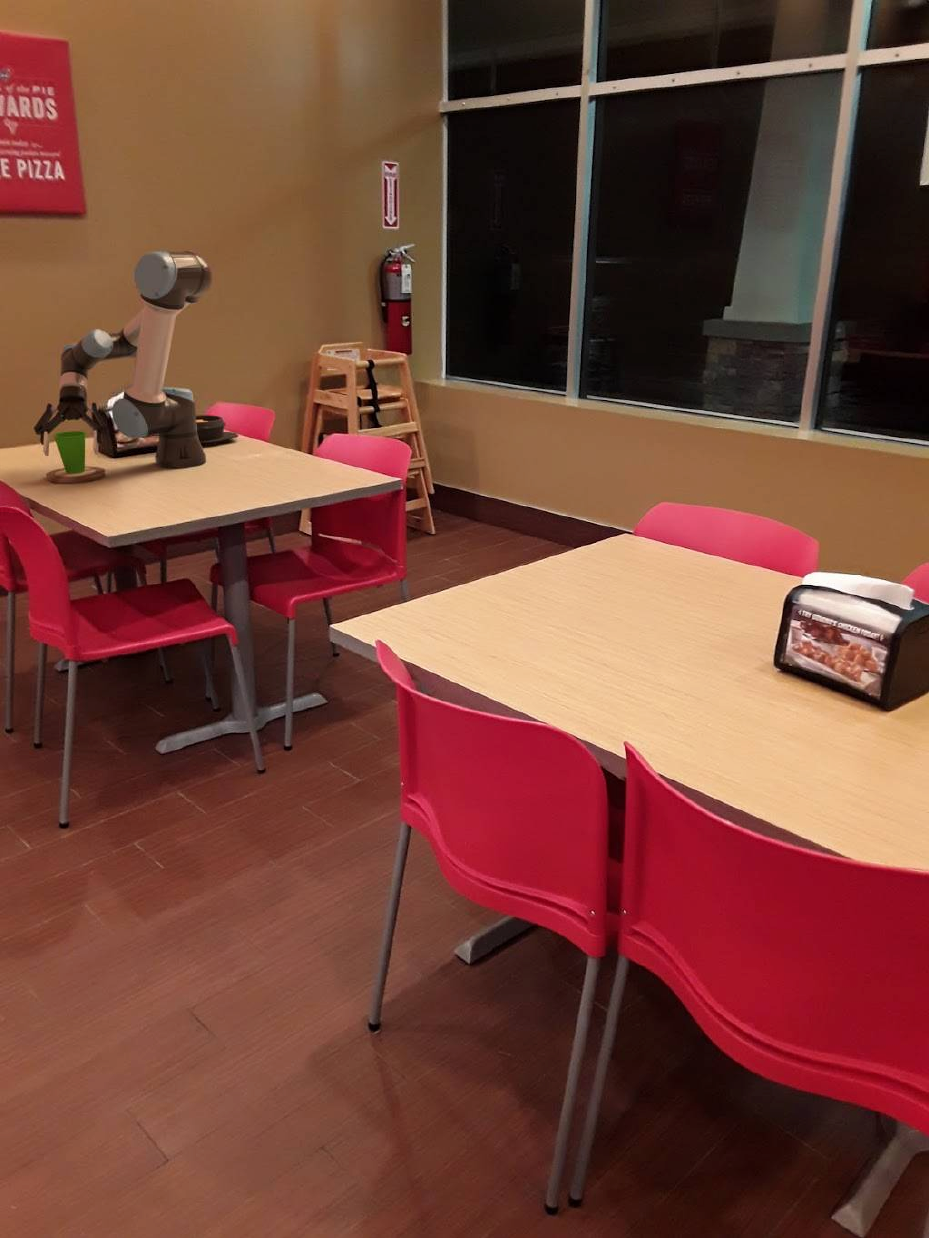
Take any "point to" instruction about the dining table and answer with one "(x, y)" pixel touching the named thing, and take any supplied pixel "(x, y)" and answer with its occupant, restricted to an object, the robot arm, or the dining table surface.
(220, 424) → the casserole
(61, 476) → the walnut board
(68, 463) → the cup
